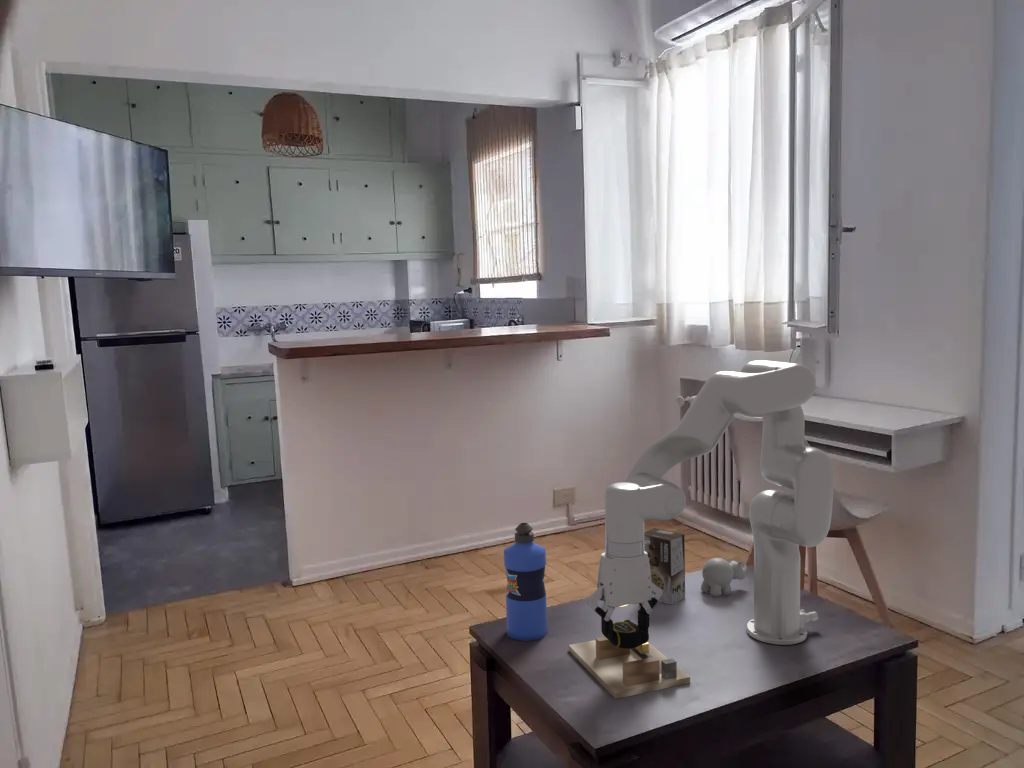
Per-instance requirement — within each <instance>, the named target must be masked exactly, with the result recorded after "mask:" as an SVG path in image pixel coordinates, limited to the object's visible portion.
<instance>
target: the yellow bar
mask: <svg viewBox="0 0 1024 768" xmlns="http://www.w3.org/2000/svg"><path fill="white" fill-rule="evenodd" d="M635 649H636V650H638V651H639V652H640V653H641V654H646V653H649V642H648V643H647V642H646V643H645V644H642V645H640V646H638V647H636V648H635Z"/></svg>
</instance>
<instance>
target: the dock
mask: <svg viewBox="0 0 1024 768" xmlns="http://www.w3.org/2000/svg"><path fill="white" fill-rule="evenodd" d="M647 643H649V641H648V642H647ZM568 651H569V652H570V654H572V655H573V657H575V658H576V660H577V661H578V662H579V663H580V664H581V665H582V666H583V667H584V668H585V670H587V671H588V672H589V673H590V674H591V675H592V676H593V677H594V678H595V679H596V681H598V683H599V684H601V686H602V687H603V688H604V689H605V690H606V691H607V692H608V693H609V694H610V695H611V696H612V697H613V698H614V700H618V699H622V698H623V699H624V698H627V697H630V696H637V695H640V694H646V693H650V692H654V691H659V690H664V689H668V688H673V687H674V688H675V687H678V686H682V685H686V684H687V685H688V684H690V683H691V676H689V674H687V673H686V672H684V670H682V669H681V668H680V667H679V666H678V665H677V661H676V659H674V658H668V657H666V656H665V655H664V654H663V653H662V652H661V651H659V650H658V649H657V648H656V647H655V646H654V645H652V644H651V643H649V653H646V654H641V653H640V652H639V651H638V650H636V649H635V648H631V649H623V648H619V647H616V646H614V645H613V644H612V643H611V642H610V640H608V639H607V638H606V637H605V636H604V635H603V636H601V637H600V636H599V637H595V639H594V640H589V641H583V642H582V641H581V642H578V643H573V644H569V645H568Z"/></svg>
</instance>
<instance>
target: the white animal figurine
mask: <svg viewBox="0 0 1024 768" xmlns="http://www.w3.org/2000/svg"><path fill="white" fill-rule="evenodd" d="M743 565H744V566H743ZM743 565H742V561H740V560H739V562H738V561H736V560H735V558H734V557H731V559H730V562H729V561H727V560H726V559H725V558H721V557H712V558H710V559H708V560H707V561H705V563H704V564H703V566H702V571H701V572H702V578H703V581H702V583H701V586H700V590H701V592H703V593H706V594H708V593H710V595H711V596H712V597H720V596H721V595H723V596H729V595H731V593H732V587H731V582H733V580H739V581H741V580H744V579H745V578H746V576H747V565H746V564H743Z"/></svg>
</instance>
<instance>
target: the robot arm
mask: <svg viewBox="0 0 1024 768" xmlns="http://www.w3.org/2000/svg"><path fill="white" fill-rule="evenodd" d="M815 377H816V376H815V375H814V373H813V372H812V370H811V369H810V368H809V367H808V366H806V365H803V364H801V363H794V362H785V361H777V360H776V361H775V360H765V359H764V360H763V359H759V360H757V359H756V360H752V361H749V362H747V363H745V364H744V365H743V366H742V368H741V370H740V372H739V371H731V370H730V371H729V370H721V371H717V372H715V373H713V374H711V375H710V376H709V377H708V378H707V380H706V381H705V383H704V384H703V385H702V387H701V388H700V390H699V392H698V393H697V395H696V396H695V398H694V400H693V401H692V403H691V404H690V405H689V407H688V408H687V410H686V412H685V413H684V415H683V416H682V418H681V419H680V421H679V423H678V425H676V426H675V428H674V429H672V430H671V431H669V432H668V433H666V434H664V435H663V436H661V437H660V438H659V439H658V440H656V441H655V442H654V443H652V444H651V445H650V446H648V447H647V448H646V449H645V450H644V451H643V453H642V454H641V455H640V456H639V457H638V459H637V460H636V462H635V463H634V464H633V466H632V467H631V470H630V471H629V473H628V474H627V476H626V478H625V481H624V482H615V483H611V484H609V485H607V487H606V488H605V490H604V523H605V524H604V530H605V532H604V538H605V541H604V542H605V549H604V550H605V551H604V552H602V553H601V554H600V555H601V556H600V558H599V565H598V571H597V572H598V573H597V584H596V585H597V586H596V587H597V588H596V590H595V591H594V592H593V593H592V594H591V595H590V596H589V598H588V599H587V600H586V603H587V605H588V606H589V608H591V610H593V611H594V612H595V613H596V614H597V615H598V616H599V617H601V618H600V620H601V623H600V624H601V625H600V627H601V633H602V635H603V637H604V636H605V637H606V638H607V639H608V640H612V639H613V624H614V621H613V620H612V619H611V618H612V615H613V613H614V611H615V609H616V608H619V607H620V608H621V607H628V606H631V605H637V604H638V606H639V608H638V609H637V625H638V626H640V627H641V628H643V629H645V630H646V631H647V632H648V633H649V628H650V614H652V613H653V609H654V607H655V606H656V604H657V603H658V601H657V600H658V599H659V598H660V597H661V595H662V594H663V590H662V589H660V588H659V587H657V586H656V585H655V584H653V583H652V580H651V571H650V564H649V559H648V555H647V552H646V551H644V550H645V546H646V545H649V544H650V539H649V538H645V537H644V533H645V522H646V521H669V520H673V519H675V518H677V517H679V515H681V514H682V513H683V511H684V510H685V509H686V504H687V497H686V494H685V492H684V490H683V489H682V488H681V487H680V486H679V485H678V484H676V483H674V482H671V481H668V480H666V479H663V478H664V477H665V475H666V474H667V473H668V472H669V471H670V470H671V469H672V468H674V467H675V466H676V465H678V464H680V463H683V462H684V461H687V460H689V459H693V458H698V457H700V456H704V455H706V454H709V453H711V452H712V451H713V450H714V449H715V448H716V447H717V446H718V445H717V444H718V443H719V442H720V440H721V439H722V438H723V437H722V436H724V434H725V433H726V430H727V429H728V428H729V426H730V424H731V422H732V421H733V420H734V418H735V417H736V415H737V416H743V417H748V418H757V417H761V418H762V419H761V420H762V435H761V446H760V447H761V448H760V460H759V462H760V466H759V468H760V469H759V470H760V474H761V476H762V478H763V479H764V480H766V481H767V482H768V483H770V484H774V485H776V486H778V487H782V488H786V489H789V490H792V491H794V492H793V493H794V494H792V493H789V492H786V491H782V490H777V489H766V490H762V491H760V492H758V493H757V494H756V495H755V496H754V497H753V498H752V500H751V502H750V505H749V515H748V516H749V522H750V527H751V532H752V539H753V554H754V555H753V556H754V557H753V558H754V559H753V562H754V563H753V619H750V620H749V621H748V622H747V623H746V632H747V634H748V635H749V636H750V637H752V638H753V639H755V640H758V641H759V642H763V643H767V644H771V645H778V646H779V645H780V646H782V645H783V646H787V645H789V646H790V645H795V644H799V643H802V642H804V641H806V639H807V637H808V629H807V628H806V627H805V625H806V624H807V623H808V622H814V621H818V620H819V615H818V613H817V612H816V611H810V612H806V611H805V609H801V552H800V547H799V546H802V547H805V548H806V547H807V548H813V547H816V546H817V547H818V546H819V545H820V544H822V543H823V542H824V541H825V539H826V538H827V536H828V533H829V532H830V528H831V522H832V516H833V515H832V513H833V502H834V492H835V491H834V490H835V477H836V476H835V468H834V465H833V462H832V460H831V458H830V456H829V454H827V453H826V452H825V451H823V450H822V449H820V448H817V447H813V446H808V445H806V444H805V443H806V442H805V432H806V431H805V427H806V426H805V425H806V424H805V423H806V422H805V414H804V411H803V409H802V405H804V404H806V403H808V401H809V400H810V399H811V398H812V397H813V395H814V393H815V391H816V385H817V381H816V378H815ZM652 591H653V593H652ZM599 601H601V602H602V604H601V607H600V606H599V604H598V602H599Z"/></svg>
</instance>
